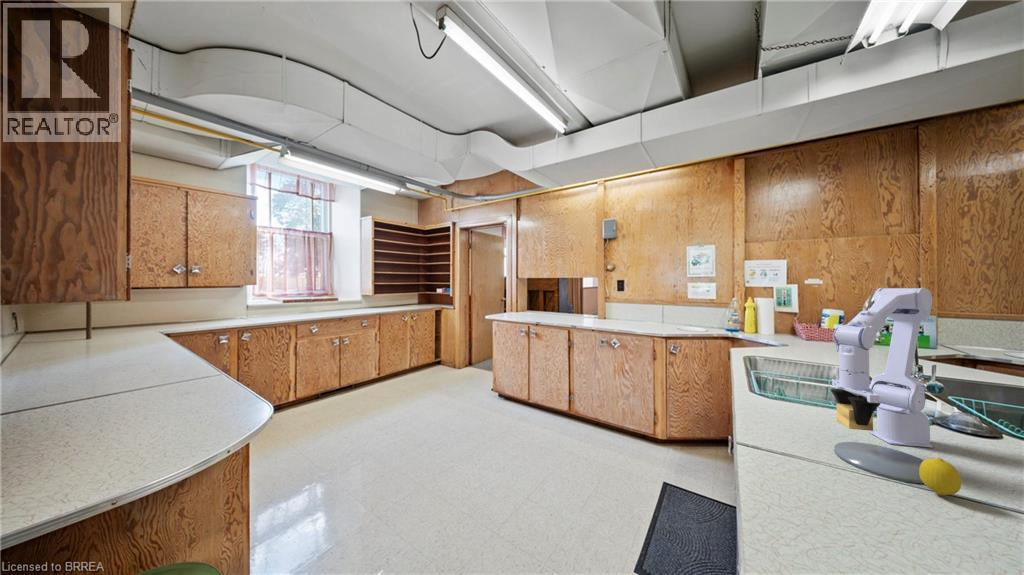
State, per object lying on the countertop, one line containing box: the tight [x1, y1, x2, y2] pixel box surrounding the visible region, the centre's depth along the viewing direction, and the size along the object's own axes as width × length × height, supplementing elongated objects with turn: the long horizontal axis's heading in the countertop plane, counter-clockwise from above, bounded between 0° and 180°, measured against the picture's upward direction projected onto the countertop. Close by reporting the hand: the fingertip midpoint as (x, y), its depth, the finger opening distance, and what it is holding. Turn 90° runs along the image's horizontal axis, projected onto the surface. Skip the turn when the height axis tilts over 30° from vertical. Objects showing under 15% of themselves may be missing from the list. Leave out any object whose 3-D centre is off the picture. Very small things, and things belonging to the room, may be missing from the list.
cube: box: [836, 402, 874, 432], centre depth 89 cm, size 5×5×5 cm
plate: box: [833, 441, 925, 484], centre depth 83 cm, size 18×18×1 cm
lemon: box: [919, 457, 962, 497], centre depth 70 cm, size 6×6×8 cm
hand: (854, 420), depth 89 cm, fingers closed on cube, 5 cm apart
